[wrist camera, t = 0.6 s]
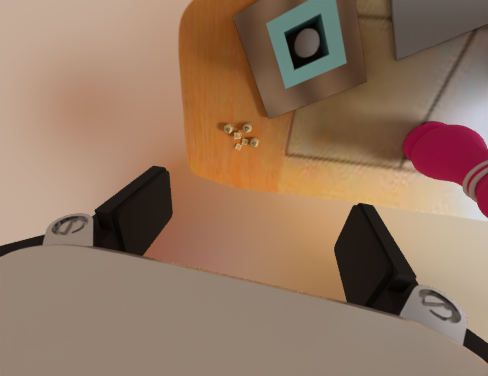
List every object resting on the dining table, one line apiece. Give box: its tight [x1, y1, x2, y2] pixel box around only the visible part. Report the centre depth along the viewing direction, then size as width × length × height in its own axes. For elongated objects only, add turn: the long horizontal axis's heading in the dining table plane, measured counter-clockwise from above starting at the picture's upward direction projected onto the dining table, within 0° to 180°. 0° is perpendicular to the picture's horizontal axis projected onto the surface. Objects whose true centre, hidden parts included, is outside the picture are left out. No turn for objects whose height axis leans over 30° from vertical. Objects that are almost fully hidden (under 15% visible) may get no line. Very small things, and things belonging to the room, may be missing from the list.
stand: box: [233, 0, 367, 119], centre depth 25 cm, size 14×14×11 cm
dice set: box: [224, 122, 259, 150], centre depth 37 cm, size 5×5×2 cm
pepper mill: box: [403, 122, 488, 218], centre depth 24 cm, size 7×7×20 cm
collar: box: [266, 0, 347, 89], centre depth 22 cm, size 6×6×5 cm
